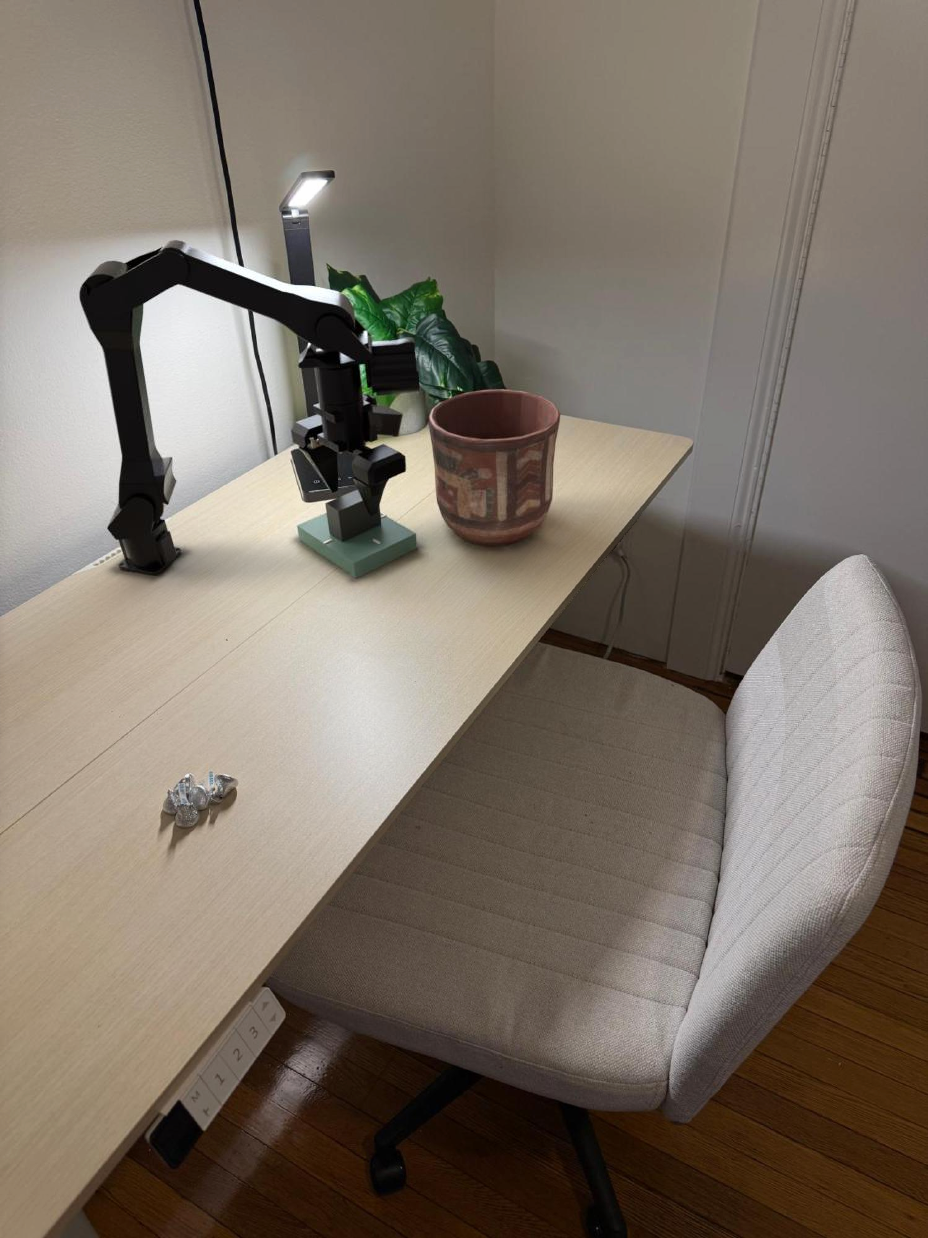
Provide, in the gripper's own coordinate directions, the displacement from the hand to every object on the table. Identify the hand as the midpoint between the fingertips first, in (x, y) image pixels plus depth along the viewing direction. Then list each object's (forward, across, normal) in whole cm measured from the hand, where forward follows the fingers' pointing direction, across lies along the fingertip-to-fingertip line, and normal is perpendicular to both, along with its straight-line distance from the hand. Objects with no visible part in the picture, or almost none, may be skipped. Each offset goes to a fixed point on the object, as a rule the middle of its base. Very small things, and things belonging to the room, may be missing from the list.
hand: (353, 502), depth 115 cm
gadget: (+4, 0, 0) cm, 4 cm away
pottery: (+7, -10, -18) cm, 22 cm away
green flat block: (+7, 0, 0) cm, 7 cm away
